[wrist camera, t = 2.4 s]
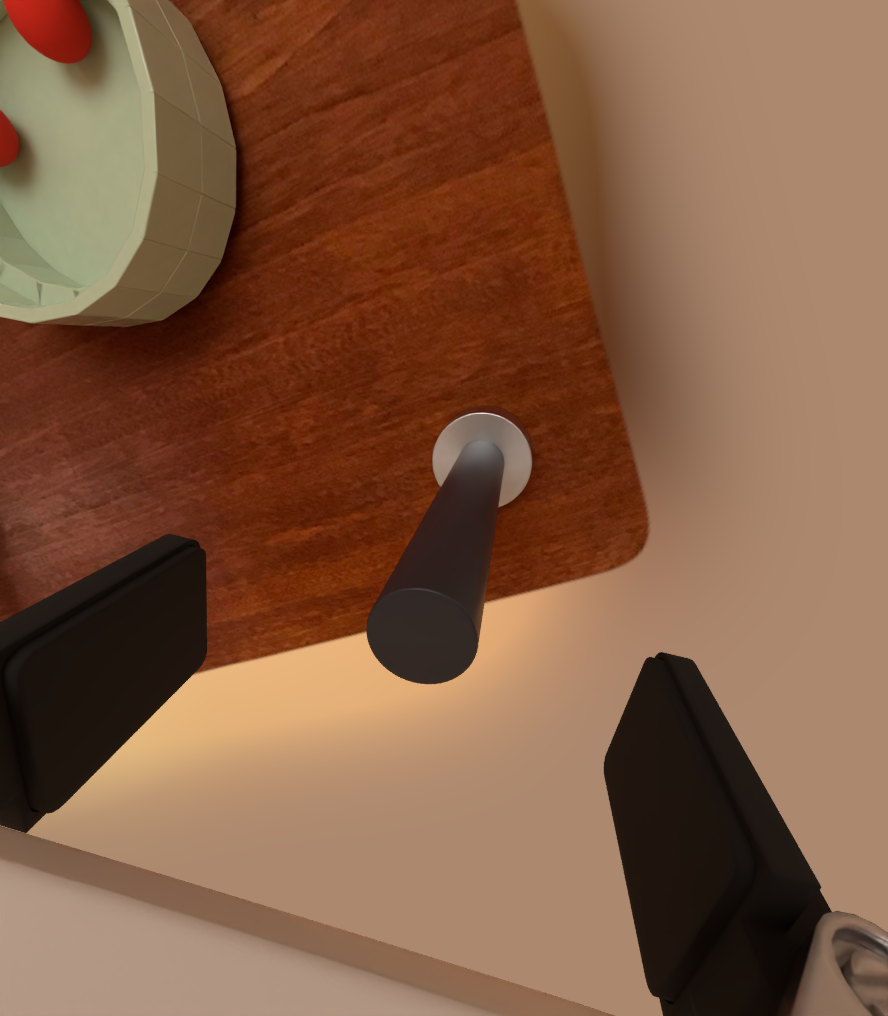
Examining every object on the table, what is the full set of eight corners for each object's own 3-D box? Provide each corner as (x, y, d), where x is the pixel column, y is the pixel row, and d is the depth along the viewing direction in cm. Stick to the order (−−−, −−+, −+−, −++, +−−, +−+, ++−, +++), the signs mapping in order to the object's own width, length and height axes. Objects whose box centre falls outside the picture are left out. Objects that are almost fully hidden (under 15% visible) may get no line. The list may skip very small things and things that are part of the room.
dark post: (541, 415, 25) (579, 558, 8) (519, 503, 27) (514, 760, 10) (448, 397, 25) (311, 496, 9) (433, 484, 27) (296, 701, 11)
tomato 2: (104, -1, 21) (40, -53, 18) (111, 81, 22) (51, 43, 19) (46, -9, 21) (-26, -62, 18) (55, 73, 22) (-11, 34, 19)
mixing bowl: (246, -30, 20) (141, -171, 15) (242, 349, 26) (165, 351, 21) (-71, -69, 22) (-276, -212, 16) (-7, 299, 28) (-141, 287, 22)
